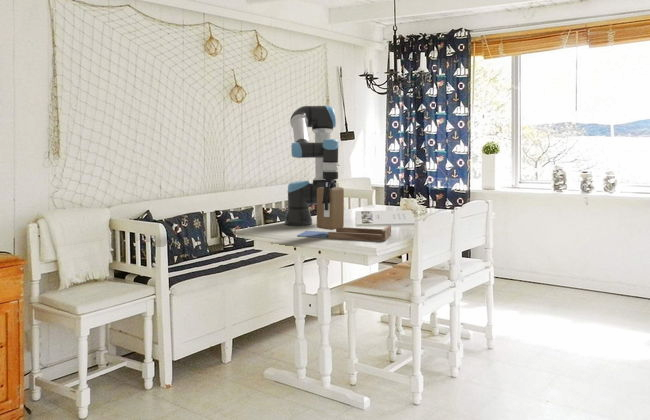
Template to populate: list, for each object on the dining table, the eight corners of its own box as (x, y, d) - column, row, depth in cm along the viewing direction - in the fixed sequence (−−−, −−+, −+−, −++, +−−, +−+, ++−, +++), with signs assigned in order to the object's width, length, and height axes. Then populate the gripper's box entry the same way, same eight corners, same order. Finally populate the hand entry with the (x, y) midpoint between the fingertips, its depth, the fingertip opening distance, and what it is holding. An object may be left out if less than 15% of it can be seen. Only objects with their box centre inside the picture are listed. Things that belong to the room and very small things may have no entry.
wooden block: (328, 225, 320) (328, 186, 317) (344, 227, 314) (344, 187, 311) (315, 228, 312) (315, 187, 309) (332, 230, 306) (332, 189, 303)
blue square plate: (306, 231, 324) (305, 230, 324) (332, 233, 320) (332, 232, 320) (297, 236, 311) (297, 235, 310) (324, 237, 307) (324, 236, 307)
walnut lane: (336, 232, 320) (336, 223, 320) (390, 235, 313) (391, 225, 312) (328, 238, 305) (328, 228, 305) (384, 241, 298) (384, 230, 297)
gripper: (331, 173, 296) (331, 218, 300) (343, 169, 320) (343, 211, 323) (316, 172, 298) (316, 218, 301) (329, 169, 322) (329, 211, 325)
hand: (330, 215), depth 312 cm, fingers closed on wooden block, 12 cm apart
